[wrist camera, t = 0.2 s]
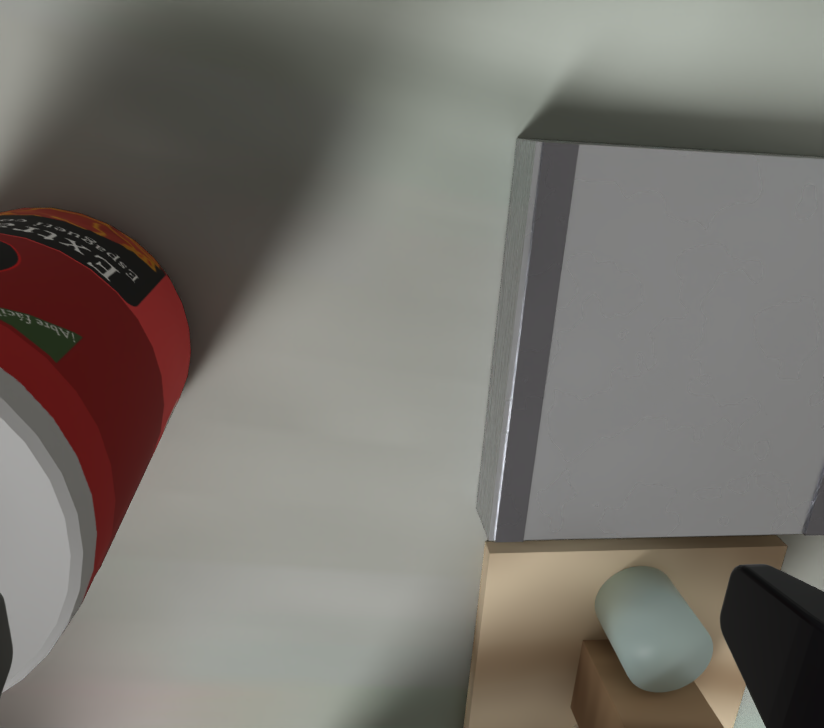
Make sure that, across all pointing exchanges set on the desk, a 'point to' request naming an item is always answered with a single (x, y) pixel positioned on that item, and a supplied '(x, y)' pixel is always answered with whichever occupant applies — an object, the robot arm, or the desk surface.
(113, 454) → the canned food
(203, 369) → the desk surface
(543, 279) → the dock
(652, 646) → the grey-green round cylinder
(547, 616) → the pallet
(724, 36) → the desk surface
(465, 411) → the desk surface
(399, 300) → the desk surface
